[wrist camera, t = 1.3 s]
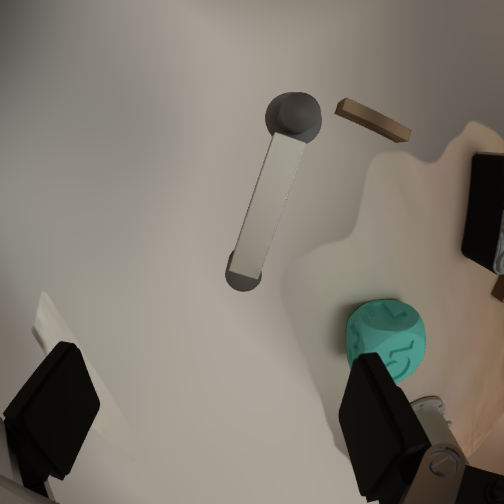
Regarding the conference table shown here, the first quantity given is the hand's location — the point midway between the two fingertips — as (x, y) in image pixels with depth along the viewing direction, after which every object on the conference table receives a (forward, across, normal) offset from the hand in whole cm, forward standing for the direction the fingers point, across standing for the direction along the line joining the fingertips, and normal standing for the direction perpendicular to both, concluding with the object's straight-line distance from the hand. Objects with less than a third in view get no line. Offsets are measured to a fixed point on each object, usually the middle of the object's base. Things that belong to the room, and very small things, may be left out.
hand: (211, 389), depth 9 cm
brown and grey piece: (+25, -10, -10) cm, 29 cm away
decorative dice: (+24, -18, +13) cm, 33 cm away
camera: (+24, -33, -4) cm, 42 cm away
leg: (+24, -3, -1) cm, 25 cm away
